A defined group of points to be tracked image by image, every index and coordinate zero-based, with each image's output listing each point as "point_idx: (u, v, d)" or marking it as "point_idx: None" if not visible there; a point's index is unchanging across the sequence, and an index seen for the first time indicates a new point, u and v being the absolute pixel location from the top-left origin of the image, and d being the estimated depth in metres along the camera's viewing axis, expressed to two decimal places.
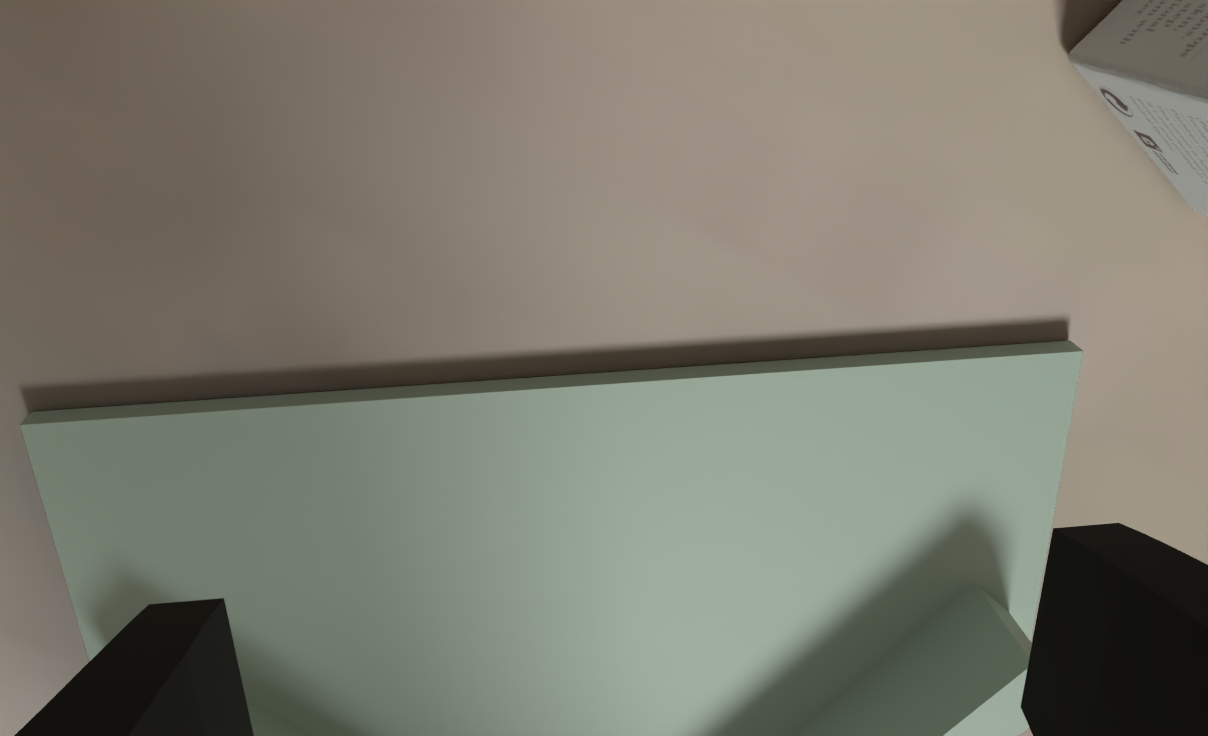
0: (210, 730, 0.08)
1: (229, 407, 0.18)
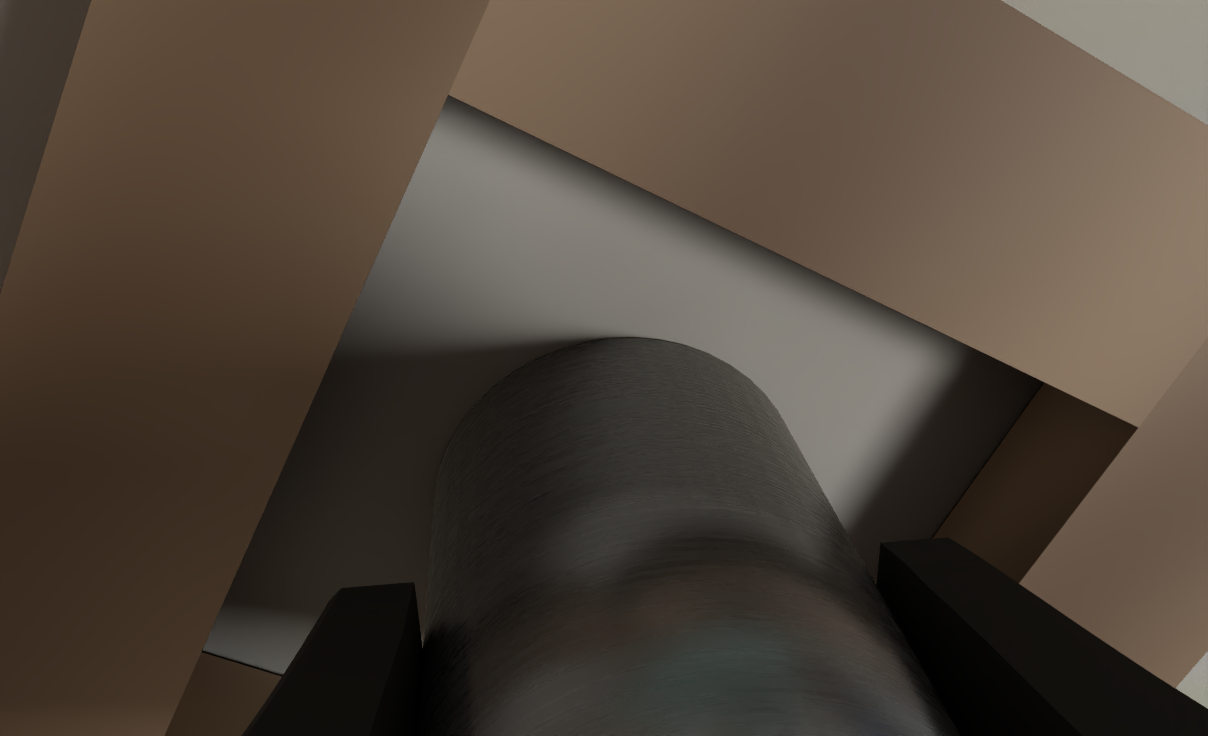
0: (415, 710, 0.08)
1: None
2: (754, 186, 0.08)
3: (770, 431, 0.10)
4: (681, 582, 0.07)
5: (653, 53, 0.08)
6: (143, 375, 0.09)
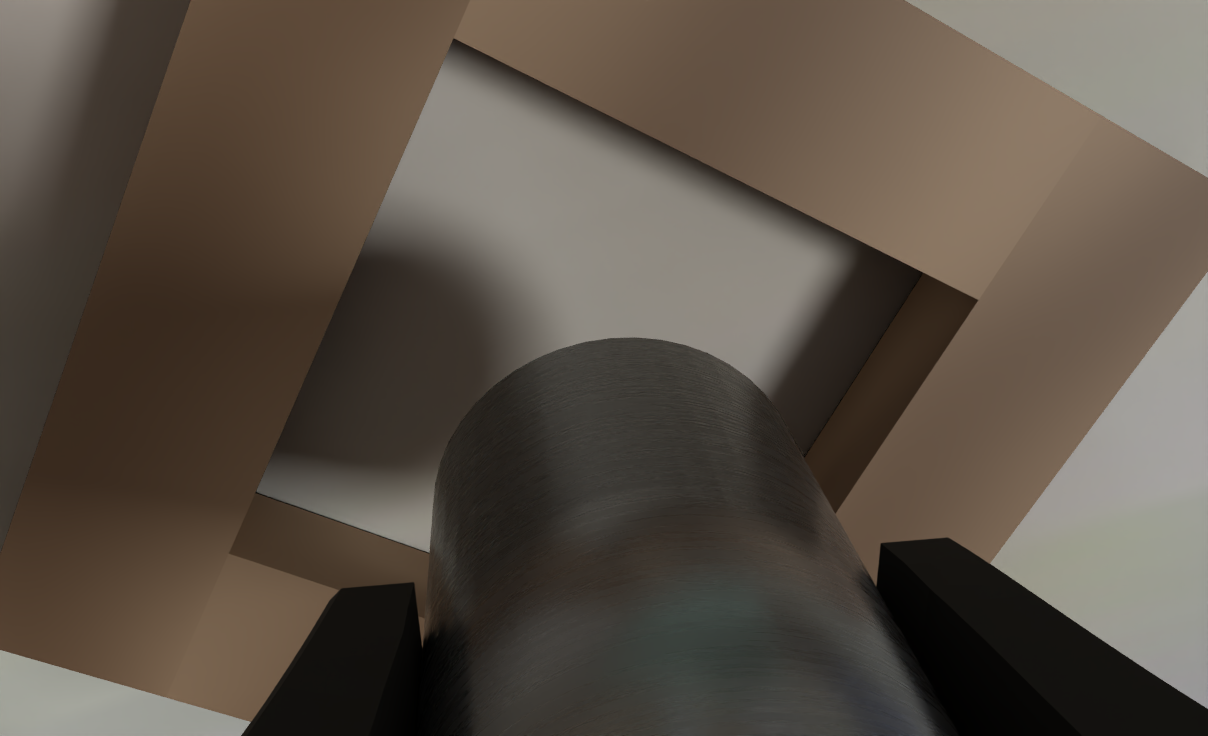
0: (415, 710, 0.08)
1: None
2: (677, 108, 0.12)
3: (769, 430, 0.10)
4: (680, 582, 0.07)
5: (601, 8, 0.11)
6: (228, 248, 0.12)
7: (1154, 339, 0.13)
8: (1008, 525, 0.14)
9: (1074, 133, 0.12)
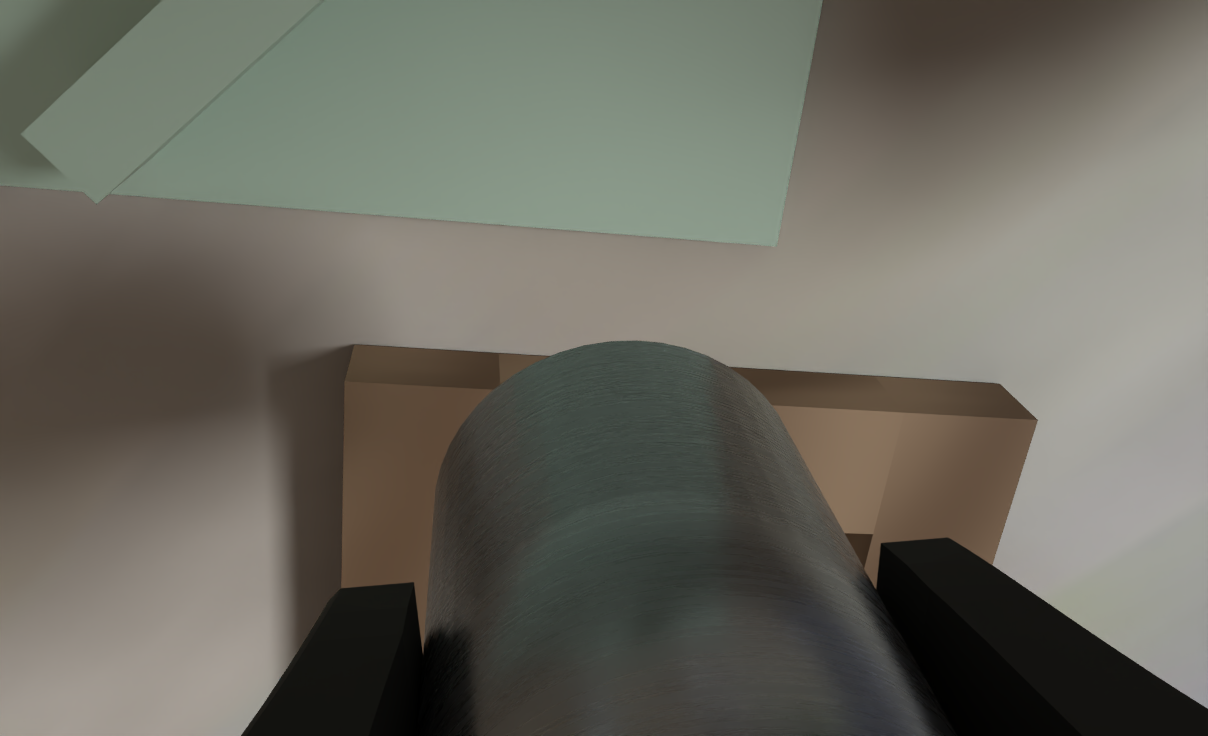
0: (415, 710, 0.08)
1: None
2: None
3: (769, 433, 0.10)
4: (680, 586, 0.07)
5: None
6: None
7: (1007, 513, 0.19)
8: None
9: (890, 428, 0.18)
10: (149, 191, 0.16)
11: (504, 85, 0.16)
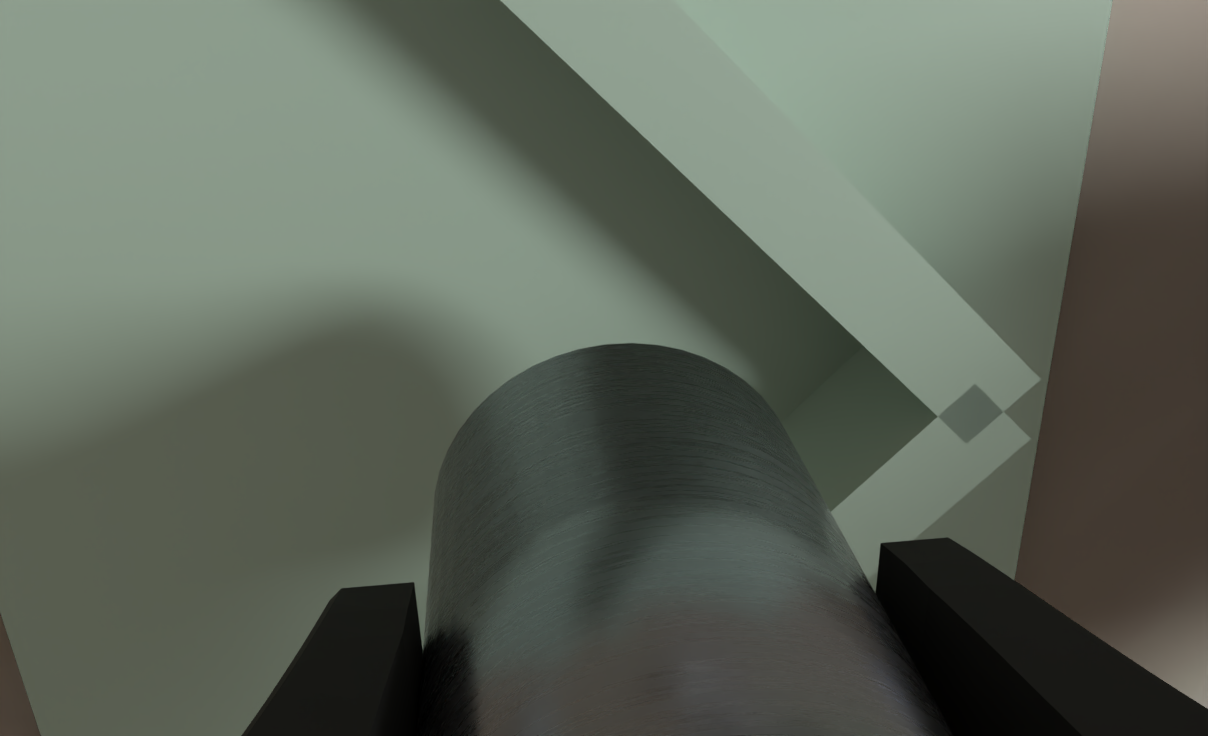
0: (415, 710, 0.08)
1: (44, 731, 0.17)
2: None
3: (765, 434, 0.10)
4: (673, 593, 0.07)
5: None
6: None
7: None
8: None
9: None
10: None
11: None
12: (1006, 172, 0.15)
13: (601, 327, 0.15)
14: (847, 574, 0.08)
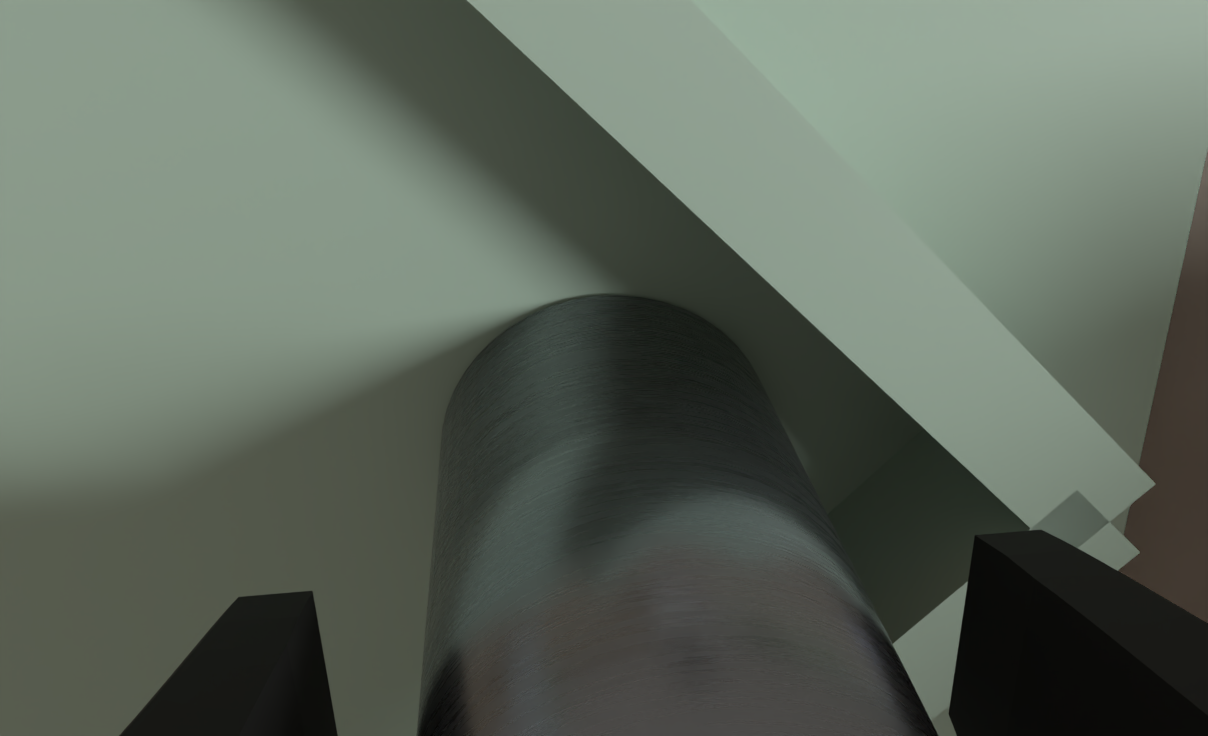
0: (306, 720, 0.08)
1: None
2: None
3: (735, 375, 0.11)
4: (642, 496, 0.08)
5: None
6: None
7: None
8: None
9: None
10: None
11: None
12: (1100, 226, 0.12)
13: None
14: (796, 489, 0.09)
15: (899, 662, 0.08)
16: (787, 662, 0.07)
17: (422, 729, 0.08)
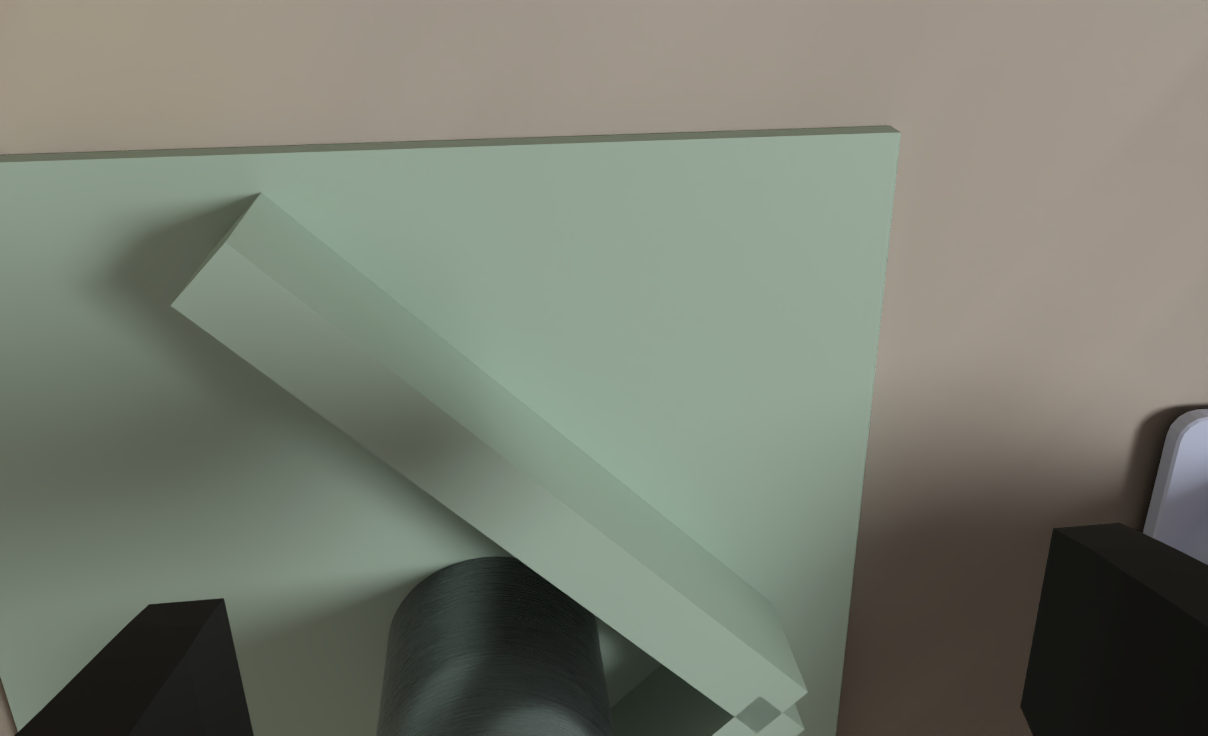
0: (210, 730, 0.08)
1: None
2: None
3: (560, 615, 0.18)
4: (483, 715, 0.16)
5: None
6: None
7: None
8: None
9: None
10: None
11: None
12: (801, 515, 0.20)
13: None
14: (577, 700, 0.17)
15: None
16: None
17: None
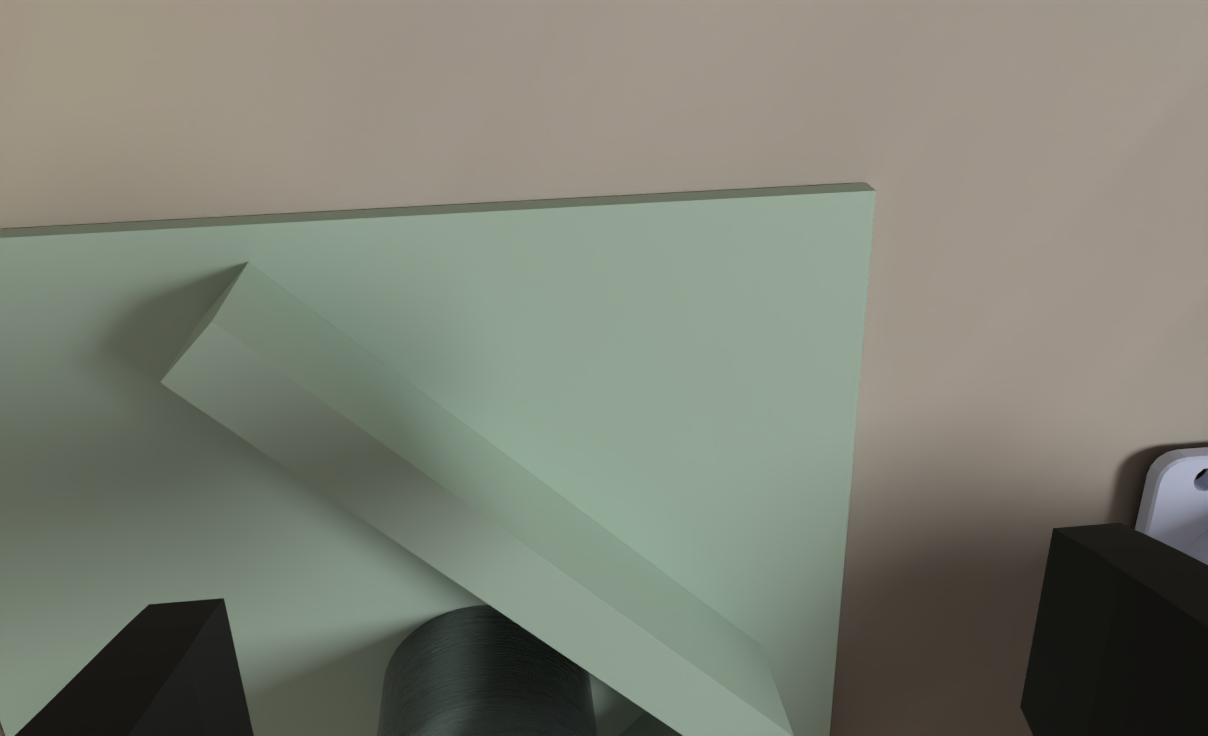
0: (210, 730, 0.08)
1: None
2: None
3: (551, 664, 0.19)
4: None
5: None
6: None
7: None
8: None
9: None
10: None
11: None
12: (787, 560, 0.20)
13: None
14: None
15: None
16: None
17: None
